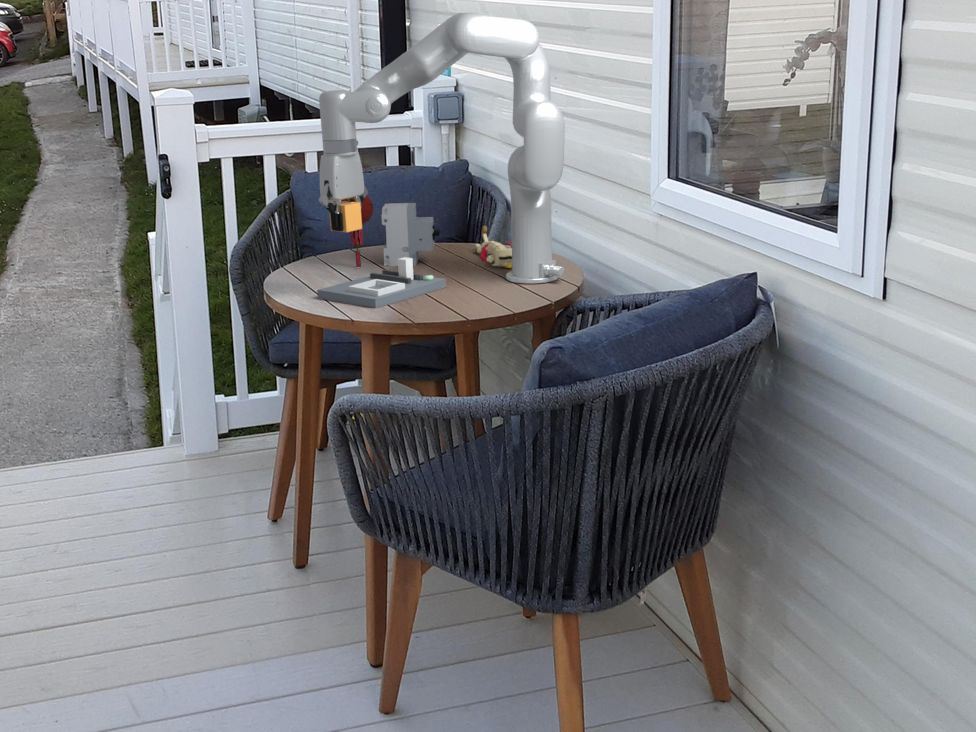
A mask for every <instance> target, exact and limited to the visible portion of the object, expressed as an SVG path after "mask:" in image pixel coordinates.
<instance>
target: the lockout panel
mask: <svg viewBox="0 0 976 732" xmlns="http://www.w3.org/2000/svg"><path fill="white" fill-rule="evenodd" d="M381 271H382V272H378V273H377V272H370V273H369V275H368V276H364V277H361V278H357V279H353V280H350V281H345V282H342V283H337V284H334V285H331V286H327V287H322V288H320V289H317V290H316V291H317V299H320V300H326V301H330V302H331V301H332V302H337V303H343V304H349V305H356V306H359V307H361V306H362V307H367V308H373V309H379V308H382V307H384V306H388V305H391V304H394V303H399V302H401V301H405V300H408V299H411V298H415V297H417V296H421V295H425V294H428V293H432V292H435V291H438V290H442V289H444V288H446V287H447V282H446V278H442V277H435V276H434V275H432V274H427V275H424V274H420V273H414V272H413V280H411V278H407V277H400V276H399V270H392V269H382V270H381Z"/></svg>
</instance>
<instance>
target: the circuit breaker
mask: <svg viewBox="0 0 976 732" xmlns="http://www.w3.org/2000/svg"><path fill="white" fill-rule="evenodd" d="M434 221H435V219H434V216H417V203H416V202H405V203H404V202H403V203H402V202H399V203H398V202H397V203H393V202H392V203H384V205H383V207H382V208H381V224H382V226H383V227H385V236H386V237H385V238H386V243H385V245H384V247H383V249H382V250H383V262H384V264H383V267H387V266H386V265H389V266H388V267H398V259H400V258H404V257H407V258H413V267H415V266H417V263H418V261H419V252H432V251H433V250H434V248H435V239H436V237H437V236H438V237H440V234H441V231H440V230H441V229H436V227H435V222H434Z"/></svg>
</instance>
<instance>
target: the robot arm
mask: <svg viewBox="0 0 976 732" xmlns="http://www.w3.org/2000/svg"><path fill="white" fill-rule="evenodd" d="M539 34H540V33H539V31H538V29H537V27H536V26H535V24H533V23H532V22H530V21H529V20H527V19H523V18H516V17H515V18H514V17H505V16H504V17H503V16H497V15H488V14H483V13H477V12H460V13H459V12H458V13H455V14H453V15H452V16H450V17H449V18H447V19H446V20H445V21H443V22H442V23H441V24H440V25H438V26H437V27H436V28H435V29H433V30H432V31H431V32H430V33H428V34H427V35H426V36H424V38H422V39H421V40H419V41H418V42H417V43H415V44H414V45H413V46H412V47H410V48H409V49H408V50H406V51H405V52H404V53H402V54H401V55H399V56H398V57H397V58H395V59H394V60H393V61H392V62H390V63H389V64H388V65H385V66H384V67H382V69H381V70H378V72H376V73H375V74H374V75H373V76H371V77H370V78H369V79H368V80H366V81H365V82H363V83H362V84H361V85H360V86H358V87H357V89H355V90H354V91H349V90H345V89H340V90H339V89H337V90H336V89H335V90H326V91H322V92H321V93H320V95H319V98H318V102H319V103H318V104H319V115H320V126H321V136H322V137H321V138H322V140H321V141H322V150H323V155H321V156H320V161H319V193H320V194H319V195H320V196H319V198H318V203H319V204H321V205H322V206H323V207H324V208H325V209H326V210H327V212H328V213H330V214H329V217H330V216H331V226H330V229H331V228H332V230H333V231H332V232H338V231H343V219H342V213H340V208H341V200H343V199H348V201H350V202H360V206H361V208H362V203H363V201H364V198H365V197H366V195H367V196H368V194H369V189H368V188H367V187H366V186H365V181H364V179H365V178H364V173H363V172H364V170H363V166H362V165H363V164H362V160H361V156H360V152H358V145H359V141H358V140H357V129H356V128H357V127H356V123H366V124H377V123H380V122H382V121H384V120H385V119H386V118H388V116H389V115H390V112H391V107H392V104H393V103H394V102H395V101H397V100H398V99H399V98H401V97H403V96H404V95H406V94H407V93H409V92H411V91H412V90H416V89H417V88H420V87H423V86H424V87H425V85H428V84H430V83H432V82H433V81H434V80H436V79H437V78H438V77H439V76H441V75H443V73H444V72H446V71H447V70H448V69H449V68H451V67H452V66H454V64H456V63H457V62H458V61H460V60H461V59H462V58H464V57H465V56H466V55H468V54H475V55H482V56H490V57H499V58H504V59H505V60H506V61H507V62H508V64H509V66H510V69H511V73H512V82H513V95H512V96H513V98H512V99H513V100H512V101H513V102H512V126H513V129H514V130H515V133H517V134H518V135H519V136H521V137H522V138H523V145H521V146H519V147H518V148H516V149H514V151H512V153H511V154H510V157H509V159H508V162H507V176H508V177H507V179H508V184H509V185H508V186H509V194H510V222H511V226H510V228H511V232H510V233H511V244H512V247H511V248H512V267H511V271H509V272H507V273H506V274H505V279H506V281H508V282H512V283H517V284H528V285H529V284H532V285H533V284H544V283H545V284H546V283H551V282H554V281H557V280H559V277H561V276H563V274H564V272H565V266H561V265H557V263H556V261H557V260H556V259H553V254H552V253H553V246H552V245H553V244H552V241H553V240H552V236H553V235H552V229H553V228H552V195H551V189H554V187H555V186H557V185H558V183H559V182H560V180H561V178H562V176H563V171H564V163H565V161H564V160H565V159H564V158H565V132H566V129H565V119H564V115H563V112H562V111H561V108H560V107H559V106H558V105H557V104H556V103H555V102H553V100H551V70H550V69H551V68H550V63H549V60H548V57H547V54H546V52H545V50H544V49H543V46H542V45H541V43H540V35H539ZM353 199H354V200H353ZM334 203H335V206H334Z"/></svg>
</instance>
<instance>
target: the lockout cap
mask: <svg viewBox="0 0 976 732" xmlns="http://www.w3.org/2000/svg"><path fill="white" fill-rule="evenodd" d="M335 203H336V202H334V206H335ZM340 213H342V219H343V231H337V232H339V233H350V231H355V230H359V229H363V228H362V219H361V206H360V202H350V201H342V202H341V208H340ZM329 223H330V224H329V225H330V231H331V232H334V231H333V230H332V228H331V216H330V213H329Z"/></svg>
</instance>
